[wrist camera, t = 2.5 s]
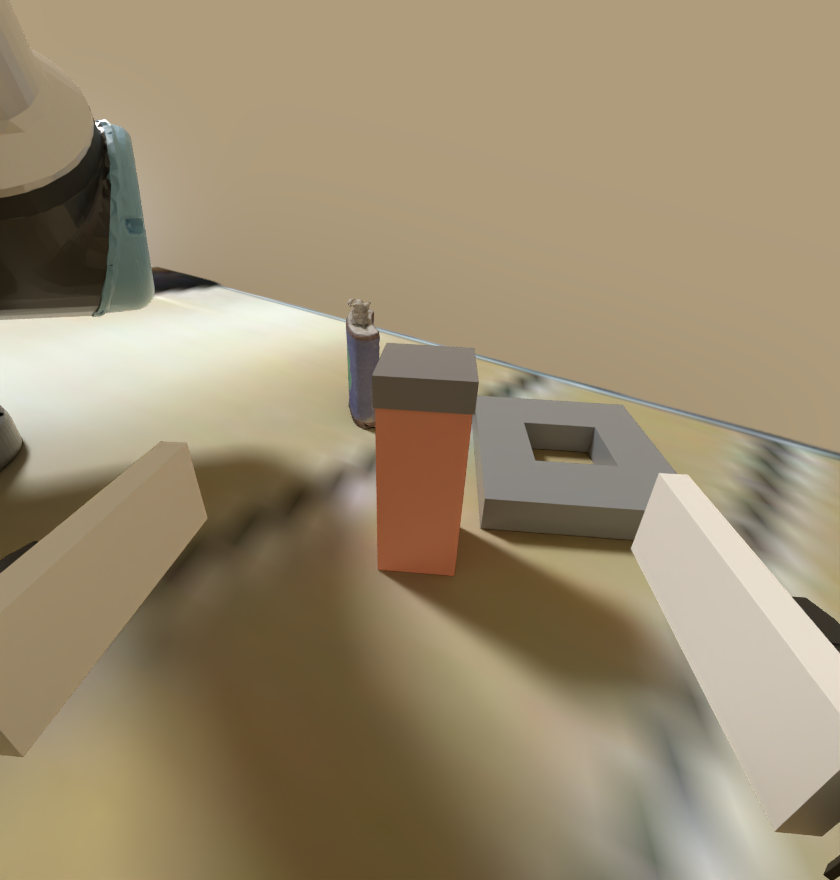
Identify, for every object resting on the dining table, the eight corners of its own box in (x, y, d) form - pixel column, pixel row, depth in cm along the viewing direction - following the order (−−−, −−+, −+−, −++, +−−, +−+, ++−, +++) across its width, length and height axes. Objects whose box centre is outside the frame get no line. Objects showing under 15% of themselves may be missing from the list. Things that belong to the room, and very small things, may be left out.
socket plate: (480, 528, 28) (485, 498, 27) (472, 418, 42) (474, 395, 41) (695, 544, 28) (709, 515, 27) (615, 428, 42) (622, 404, 40)
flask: (381, 428, 40) (380, 312, 35) (350, 429, 39) (343, 312, 34) (374, 389, 48) (372, 289, 42) (347, 389, 47) (342, 289, 42)
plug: (375, 570, 25) (371, 375, 19) (386, 517, 29) (386, 342, 23) (456, 577, 25) (478, 382, 19) (455, 523, 29) (474, 348, 23)
